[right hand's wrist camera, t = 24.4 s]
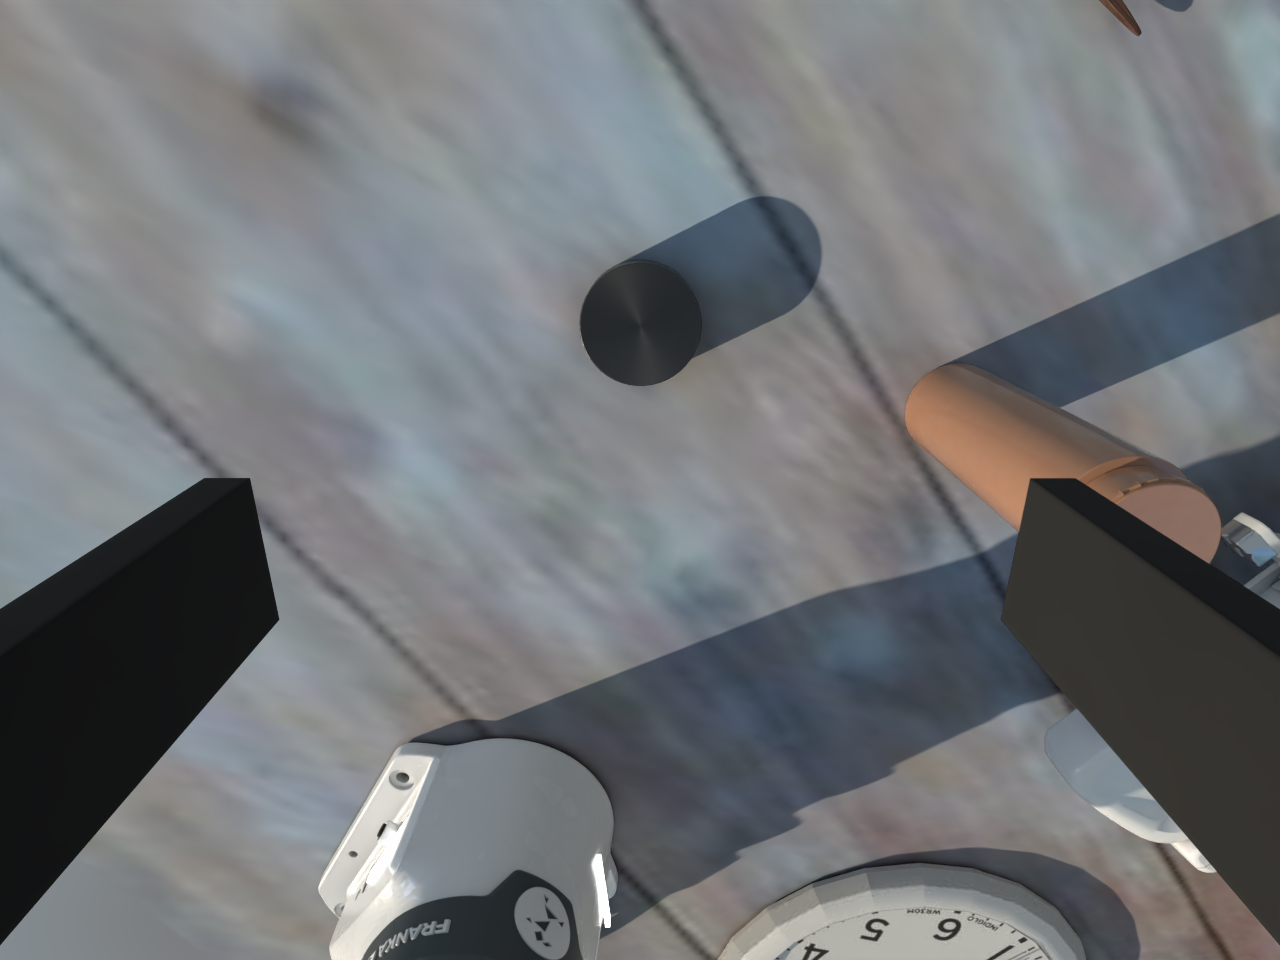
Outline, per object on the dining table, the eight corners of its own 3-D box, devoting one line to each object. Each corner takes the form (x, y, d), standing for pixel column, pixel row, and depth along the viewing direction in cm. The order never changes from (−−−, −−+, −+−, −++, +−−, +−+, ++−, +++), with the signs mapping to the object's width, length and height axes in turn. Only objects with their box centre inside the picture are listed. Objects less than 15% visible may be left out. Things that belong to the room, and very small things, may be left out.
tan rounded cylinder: (1017, 409, 40) (1262, 545, 24) (941, 470, 41) (1127, 637, 26) (962, 343, 39) (1183, 442, 23) (885, 408, 40) (1045, 545, 24)
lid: (593, 248, 37) (590, 251, 35) (710, 273, 37) (714, 277, 35) (573, 365, 39) (570, 373, 37) (684, 387, 39) (686, 396, 38)
